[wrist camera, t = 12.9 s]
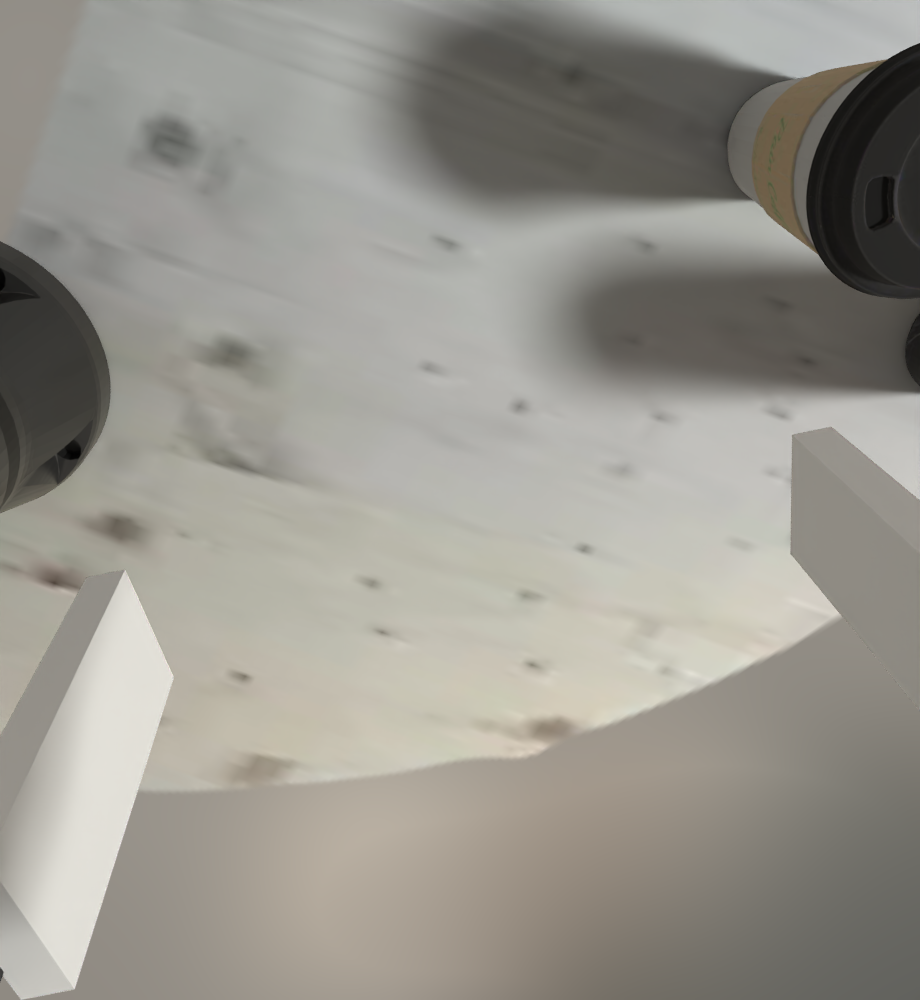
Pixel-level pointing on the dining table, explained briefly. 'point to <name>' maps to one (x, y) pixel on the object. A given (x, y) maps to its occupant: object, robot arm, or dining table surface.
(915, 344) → the travel mug
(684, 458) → the dining table surface
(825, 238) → the coffee cup
